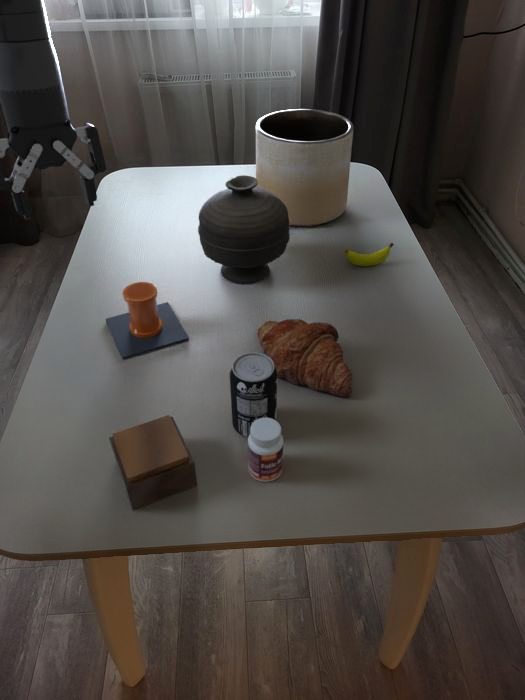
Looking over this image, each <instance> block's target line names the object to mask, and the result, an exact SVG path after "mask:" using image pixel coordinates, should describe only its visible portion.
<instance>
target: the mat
mask: <svg viewBox="0 0 525 700" xmlns="http://www.w3.org/2000/svg"><path fill="white" fill-rule="evenodd" d="M157 308H158V314H159V318H160V319H161V321H162V325H163V327H162V330H161V331H160V332H159V333H158V334H157V335H155V336H153V337H149V338H139V337H136V336H134V335H133V334H132V333H131V332H130V327H129V326H130V323H131V321H130V316H129V312H126V313H122V314H117V315H113V316H111V317H106V318H105V322H106V324H107V326H108V329H109V331H110V333H111V336H112V338H113V340H114V342H115V346H116V347H117V349H118V352H119V355H120V357H121V358H122V360H126V359H129V358H133V357H136V356H137V357H138V356H141V355H143V354H147V353H150V352H153V351H157V350H160V349H163V348H168V347H170V346H173V345H177V344H180V343H184V342H187V341H190V337H189V334H188V333H187V331H186V330H185V328H184V327H183V325H182V322H180V320H179V318H178V317H177V315H176V313H175V311H174V310H173V308H172V307H171V305H170V303H169V302H168V301H167V302H163V303H159V304H157Z"/></svg>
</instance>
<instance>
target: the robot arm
mask: <svg viewBox="0 0 525 700" xmlns="http://www.w3.org/2000/svg"><path fill="white" fill-rule="evenodd" d="M51 36H52V35H51V30H50V26H49V21H48V16H47V11H46V6H45V2H44V0H0V104H1V109H2V112H3V117H4V120H5V123H6V127H7V135H6V137H4V138H0V191H7V192H10V193H11V197H12V200H13V201H12V202H13V205H14V208H15V210H16V212H17V213H18V215H19V216H20V217H23V218H24V220H31V219H32V215H31V211H30V207H29V204H28V198H27V196H26V192H25V191H24V187H25V184H26V182H27V181H28V179H29V178H30V177H31V175H32V173H33V170H34V169H35V170H38V171H42V170H46V169H48V168H50V167H55V168H60V167H64V164H66V163H67V162H68V163H69V164H70V165H71V166H73V168H75V169H76V170H77V171H78V172H79V173H80V176H79V182H80V186H81V191H82V196H83V200H84V203H85V205H86V206H87V207H93V206H95V202H97V201H98V200H97V199H98V195H97V189H96V183H95V177H96V176H97V175H98V174H99V173H104V172H105V171H106V170H107V164H106V161H105V156H104V152H103V148H102V143H101V139H100V135H99V131H98V128H97V127H95V126H94V125H93V124H91V123H89V122H85V123H84V124H83V125H82V126H78V127H73V125H72V123H71V119H70V114H69V107H68V103H67V98H66V94H65V89H64V84H63V80H62V79H63V78H62V74H61V69H60V65H59V59H58V56H57V53H56V49H55V47H54V43H53V39H52V37H51ZM78 138H80V140H81V142H83V144H85V145H86V146H87V150H88V155H89V159H90V162H89V163H88V164H86V163H84V162H83V161H82V160H81V158H79V157H78V156H77V155H76V154H75V153H74V152H73V148H74V146H75V144H76V142H77V140H78ZM8 148H10V150H12V152H13V153H14V154H16V155H17V158H16V160H15V162H14V165H13V169H12V171H11V174H10V176H9V178H7V177H5V174H4V169H3V166H2V161H1V159H3V158H4V157H6V150H7V149H8Z"/></svg>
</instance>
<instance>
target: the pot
mask: <svg viewBox="0 0 525 700" xmlns="http://www.w3.org/2000/svg"><path fill="white" fill-rule="evenodd" d="M257 184H258V181H257V179H256V177H254V176H252V175H243V174H242V175H236V176H235V177H234V176H233V177H229V178H228V180H227V181H225V187H226V189H223V190H220V191H218V192H216V193H215V194H213V195H212V196H210V197H209V198H208V199H207V200H206V201H205V202H204V203H203V205H202V206H201V208H200V210H199V214H198V220H199V222H198V228H197V233H198V236H199V243H200V245H201V248H202V251H203V253H204V256H205V257H206V258H207V259H210V260H211V261H212V262H214V263H217V264H220V265H221V267H220V275H221V277H222V278H223V279H224V280H226V281H227V282H230V283H233V284H235V285H246V286H247V285H254V284H258V283H261V282H264V280H266V279H268V277H270V273H271V268H270V263H272V262H274V261H276V260H277V259H279V258H280V257H281V256H283V254H285V252H286V250H287V248H288V244H289V242H290V229H291V227H290V226H291V225H289V217H288V210H287V208H286V206H285V204H284V203H283V202H282V201H281V200H280V199H279V198H278V197H277V196H275V195H274V194H272V193H271V192H269V191H267V190H265V189H262V188H257V187H256V186H257Z"/></svg>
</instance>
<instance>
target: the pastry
mask: <svg viewBox="0 0 525 700" xmlns="http://www.w3.org/2000/svg"><path fill="white" fill-rule="evenodd" d="M256 334H257V337H258V341H259V345H260V348H261V349H262V351H263V354H265V355H267V356H268V357H270V358H271V359H272V361H273V363H274V367H275V368H276V370H277V379H279V380H282V381H285V382H287V383H290V384H292V385H295V386H299V387H300V386H304V387H308V388H309V389H311V390H312V391H319V392H320V391H321V392H325V393H327V394H331V395H333V396H335V397H340V398H347V397H350V395H351V394H352V382H353V372H352V370H351V369H350V368H349V366H348V365H347V364H346V362H345V361H344V350H343V348H342V346H341V343H339V342H338V340H339V338H340V337H339V336H340V335H339V331H338V329H337V328H336V327H335V326H334V325H332V324H331V323H327V322H310V323H308V322H306V321H305V320H303V319H300V318H297V319H296V318H291V319H290V318H288V319H284V320H283V319H282V320H281V321H277V320H267V321H264V322H263V323H262V324H261V325H260V326H259V327H258V328H257V331H256Z"/></svg>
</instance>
